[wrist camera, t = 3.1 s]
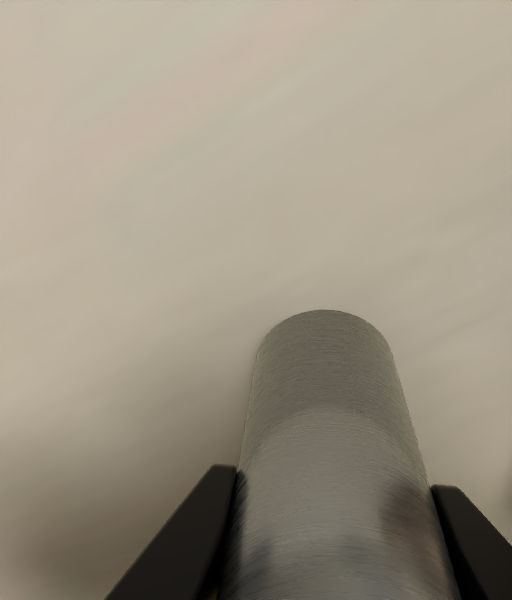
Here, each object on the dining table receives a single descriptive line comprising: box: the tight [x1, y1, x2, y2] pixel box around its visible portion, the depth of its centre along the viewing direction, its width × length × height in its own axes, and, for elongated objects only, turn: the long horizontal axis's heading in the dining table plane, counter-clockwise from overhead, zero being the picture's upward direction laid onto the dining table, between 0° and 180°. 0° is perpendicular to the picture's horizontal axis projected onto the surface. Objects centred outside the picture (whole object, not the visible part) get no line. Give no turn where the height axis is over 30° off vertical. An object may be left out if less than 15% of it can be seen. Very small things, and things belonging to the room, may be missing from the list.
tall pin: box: [216, 310, 462, 600], centre depth 7 cm, size 3×3×10 cm
